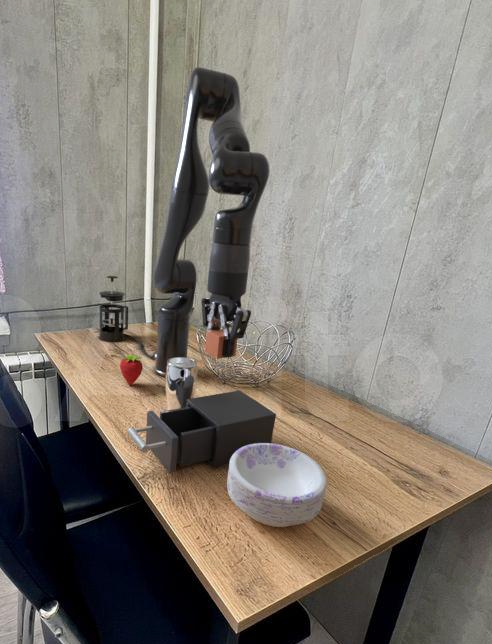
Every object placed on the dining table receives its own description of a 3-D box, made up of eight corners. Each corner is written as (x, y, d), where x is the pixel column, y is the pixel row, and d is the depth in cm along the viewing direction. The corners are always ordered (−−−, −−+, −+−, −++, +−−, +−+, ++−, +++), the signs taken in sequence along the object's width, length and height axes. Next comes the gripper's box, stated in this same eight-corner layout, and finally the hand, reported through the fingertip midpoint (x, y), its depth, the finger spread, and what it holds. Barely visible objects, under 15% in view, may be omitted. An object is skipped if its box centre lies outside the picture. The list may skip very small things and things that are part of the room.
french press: (103, 343, 144) (103, 278, 135) (93, 336, 151) (92, 274, 143) (132, 339, 150) (134, 277, 142) (121, 333, 157) (122, 273, 149)
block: (204, 351, 83) (206, 330, 82) (222, 349, 85) (224, 328, 84) (217, 358, 80) (219, 336, 78) (235, 356, 82) (238, 334, 80)
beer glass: (190, 432, 88) (196, 369, 83) (159, 427, 89) (163, 365, 84) (194, 418, 94) (200, 358, 89) (166, 414, 96) (169, 355, 90)
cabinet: (214, 468, 76) (219, 426, 73) (183, 437, 86) (186, 399, 83) (269, 453, 82) (276, 414, 79) (234, 426, 92) (239, 390, 89)
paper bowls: (259, 553, 57) (267, 509, 54) (208, 489, 70) (212, 450, 67) (338, 527, 63) (350, 485, 60) (278, 472, 76) (285, 435, 73)
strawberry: (135, 378, 115) (136, 345, 111) (146, 388, 109) (147, 353, 105) (115, 380, 112) (116, 347, 109) (125, 391, 106) (126, 356, 103)
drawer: (145, 479, 70) (146, 443, 67) (123, 448, 79) (123, 415, 76) (226, 458, 78) (231, 425, 75) (198, 432, 87) (201, 401, 84)
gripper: (268, 273, 72) (256, 362, 78) (223, 264, 84) (215, 341, 90) (235, 274, 69) (225, 366, 75) (192, 264, 81) (186, 344, 87)
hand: (219, 352), depth 82 cm, fingers closed on block, 4 cm apart
